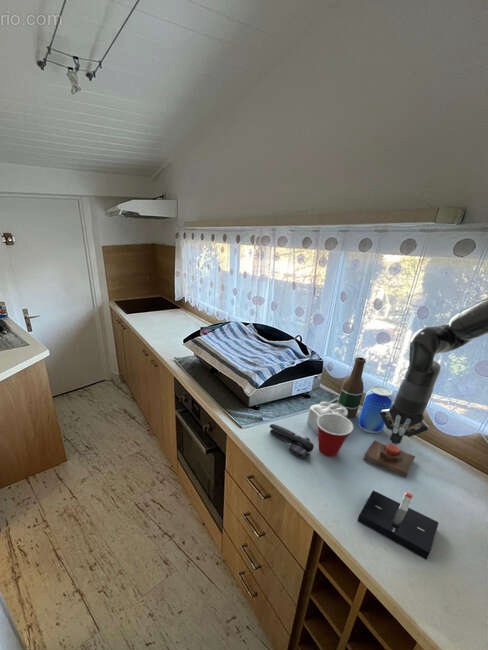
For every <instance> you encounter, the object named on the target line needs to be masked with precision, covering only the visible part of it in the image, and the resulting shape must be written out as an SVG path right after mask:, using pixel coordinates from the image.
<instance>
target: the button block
mask: <svg viewBox="0 0 488 650" xmlns="http://www.w3.org/2000/svg"><path fill="white" fill-rule="evenodd" d="M386 446H387V443H386V444H385V443H384V442H380V441H378V440H373V441H372V443H371V444H370V446H369V447H368V448H367V451H366V452H365V454H364V455H363V459H362V460H364V461H366V462H368V463H370V464H372V465H375V466H377V467H379V468H382V469H384V470H386V471H389V472H391V473H393V474H395V475H397V476H400V477H402V478H405V479H406V478H407V476H408V475H409V472H410V469H411V468H412V466H413V463H414V461H415V458H416V456H415V455H413V454H411V453H407V452H405V451H403V450H402V449H400V450H399V453H398V455H396V456H395V455H390V454H388V453H387V452H386V451H385V448H386Z"/></svg>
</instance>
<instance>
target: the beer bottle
mask: <svg viewBox="0 0 488 650" xmlns="http://www.w3.org/2000/svg"><path fill="white" fill-rule="evenodd" d="M366 362H367V361H366V358H364V357H359V356H358V357H355V359H354V364H353V367H352V369H351V373H350V374H349V376H348V377H347V378H346V379H345V380H344V381H343V382H342V385H341V389H340V393H339V396H338V400H337V404H338V405H340V406H342V407H344V408H346V409H347V411H348V415H347V419H352V418H355V417H357V414H358V410H359V407H360V405H361V401H362V397H363V394H364V390H365V389H364V381H363V379H362V378H363V372H364V368H365V364H366Z"/></svg>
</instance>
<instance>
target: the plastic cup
mask: <svg viewBox="0 0 488 650" xmlns="http://www.w3.org/2000/svg"><path fill="white" fill-rule="evenodd" d="M317 425H318V429H319V432H318V434H317V435H318V440H317V441H318V451H319V453H320V454H321V455H323V456H325V457H329V458H334V457H336V456H337V455H338V453H339V452H340V449H341V448H342V446H343V445H344V443H345V441H346V440H347V438H348V436H349V435H350V433H352V432H353V430H354V424H353V422H352V421H351V420H350V418H345V417H344V416H341V415H338V414H331V413H328V414H322V415H320V416H319V417H318V418H317Z"/></svg>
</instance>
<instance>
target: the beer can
mask: <svg viewBox="0 0 488 650" xmlns="http://www.w3.org/2000/svg"><path fill="white" fill-rule="evenodd" d="M393 403H394V396H393V391H392V390H391V389H389V388H387V387H385V386H379V385H375V386H372V387H371V388H370V389H369V390H368V391H367V392H366V394H365V397H364V400H363V403H362V406H361V410H360V412H359V416H358V419H357V424H358V427H359V428H360V429H361V430H362V431H364V432H366V433H370V434H378V433H380V432H382V431H383V430H384V428H385V426H386V425H385V423H384V421H383V419H382V417H381V415H380V412H381V411H382V409H386V410H387V409H390V408H391V406H393Z"/></svg>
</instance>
